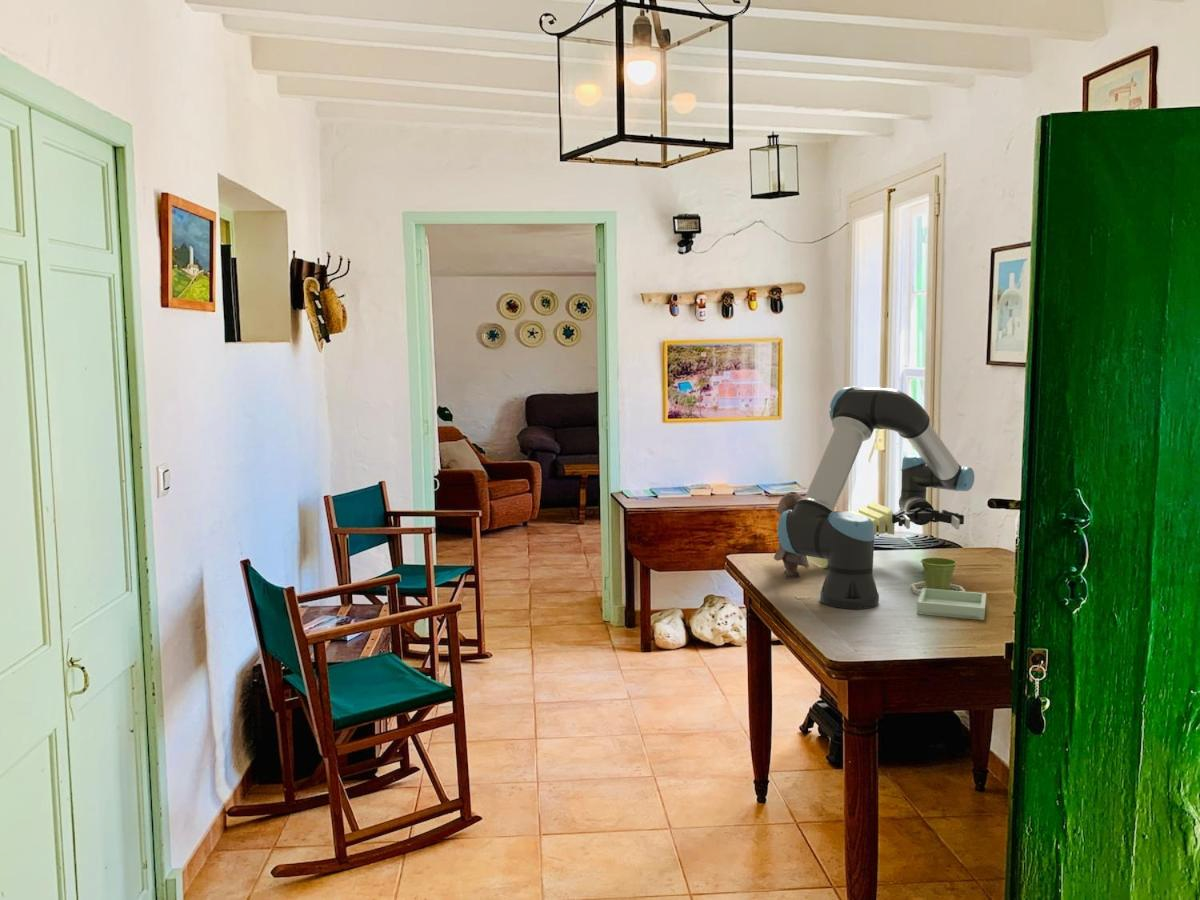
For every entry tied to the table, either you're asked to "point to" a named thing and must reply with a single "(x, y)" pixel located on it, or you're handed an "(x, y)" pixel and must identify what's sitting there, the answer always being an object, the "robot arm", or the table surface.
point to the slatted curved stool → (880, 519)
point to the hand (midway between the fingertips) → (933, 524)
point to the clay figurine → (788, 558)
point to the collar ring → (921, 584)
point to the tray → (952, 603)
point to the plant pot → (938, 572)
